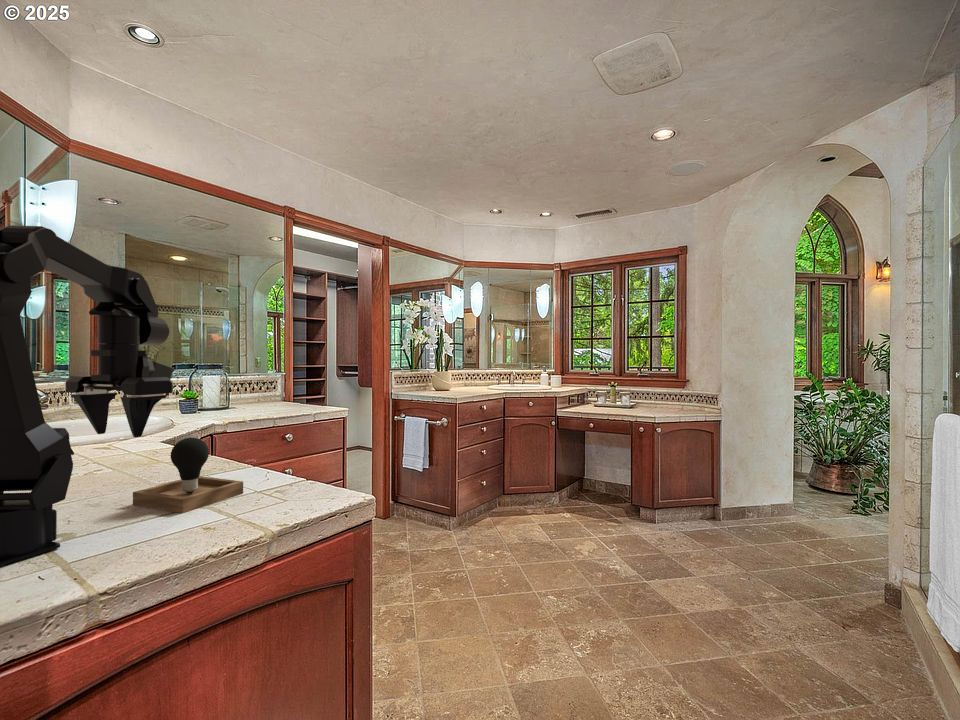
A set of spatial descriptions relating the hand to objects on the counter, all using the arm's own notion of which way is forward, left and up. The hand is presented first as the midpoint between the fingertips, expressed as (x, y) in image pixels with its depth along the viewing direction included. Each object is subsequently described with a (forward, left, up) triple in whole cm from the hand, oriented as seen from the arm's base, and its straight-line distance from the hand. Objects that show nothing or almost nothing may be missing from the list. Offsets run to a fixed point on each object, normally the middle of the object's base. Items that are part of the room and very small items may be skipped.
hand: (119, 435), depth 80 cm
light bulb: (+7, -8, -11) cm, 15 cm away
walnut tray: (+7, -8, -12) cm, 16 cm away
